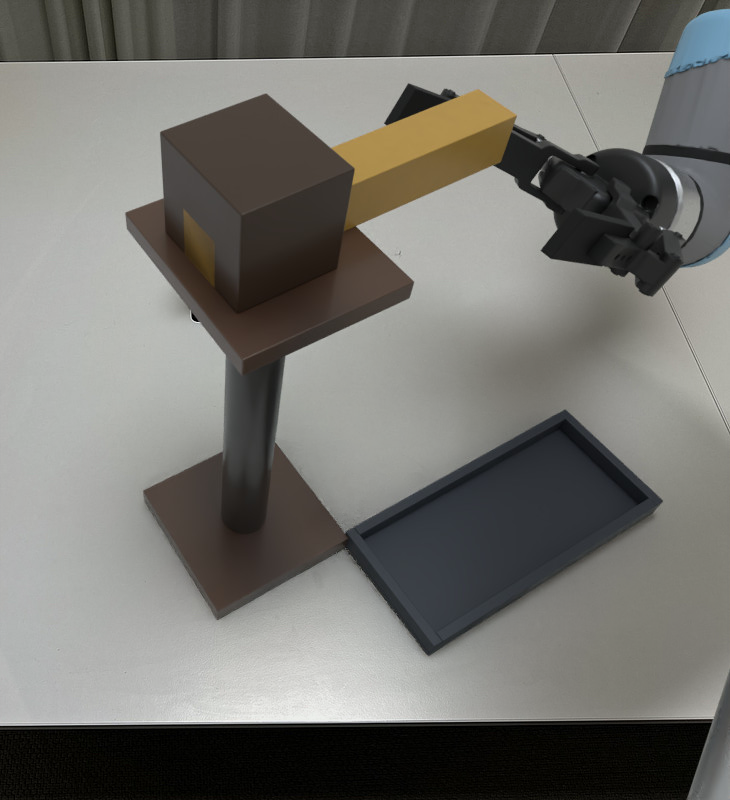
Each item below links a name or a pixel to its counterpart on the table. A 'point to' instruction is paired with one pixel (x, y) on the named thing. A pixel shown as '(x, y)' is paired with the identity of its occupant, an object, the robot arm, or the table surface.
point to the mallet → (306, 185)
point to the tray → (498, 528)
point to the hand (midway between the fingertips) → (474, 164)
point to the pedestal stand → (257, 420)
